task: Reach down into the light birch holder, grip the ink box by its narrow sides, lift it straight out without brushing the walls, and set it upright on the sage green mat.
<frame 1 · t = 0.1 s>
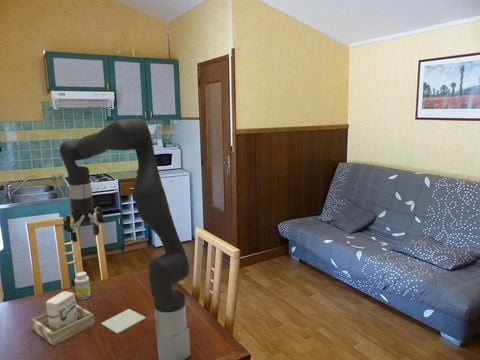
hand: (85, 238, 140), 29 cm above the table, tool pointing down, fingers open, 8 cm apart
birch holder: (64, 327, 135), on the table
ink box: (64, 327, 135), resting in birch holder
supplement bottle: (83, 297, 156), on the table
sage mat: (123, 321, 138), on the table
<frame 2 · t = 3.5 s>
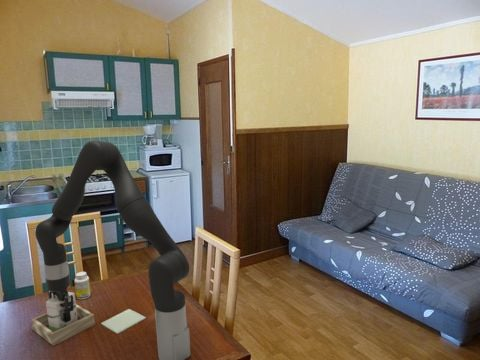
hand: (62, 318, 134), 4 cm above the table, tool pointing down, fingers closed on ink box, 6 cm apart
ink box: (64, 327, 135), resting in birch holder, touching gripper
everything else where it was.
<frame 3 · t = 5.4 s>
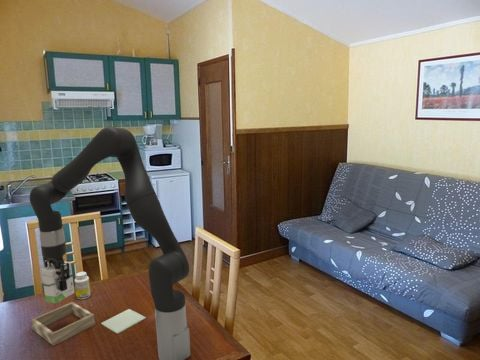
hand: (59, 287, 132), 15 cm above the table, tool pointing down, fingers closed on ink box, 6 cm apart
ink box: (60, 297, 132), point 12 cm above the table, touching gripper
everything else where it was.
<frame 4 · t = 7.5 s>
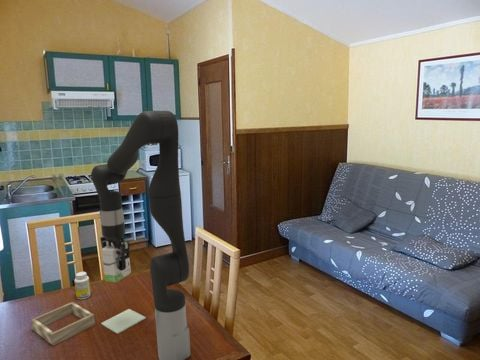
hand: (117, 267, 133), 21 cm above the table, tool pointing down, fingers closed on ink box, 6 cm apart
ink box: (118, 277, 134), point 17 cm above the table, touching gripper
everything else where it was.
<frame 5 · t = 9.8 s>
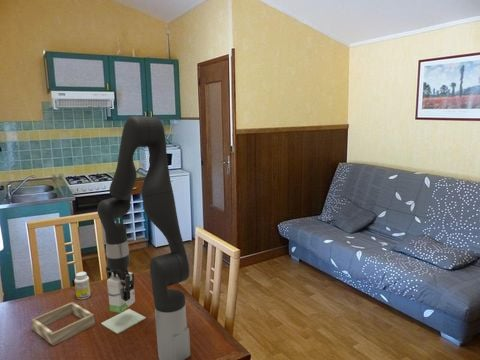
hand: (121, 297, 136), 9 cm above the table, tool pointing down, fingers closed on ink box, 6 cm apart
ink box: (122, 306, 137), point 6 cm above the table, touching gripper
everything else where it was.
when the fingers open (5 cm above the table, at t = 11.6 s): ink box drops 1 cm, resting on sage mat.
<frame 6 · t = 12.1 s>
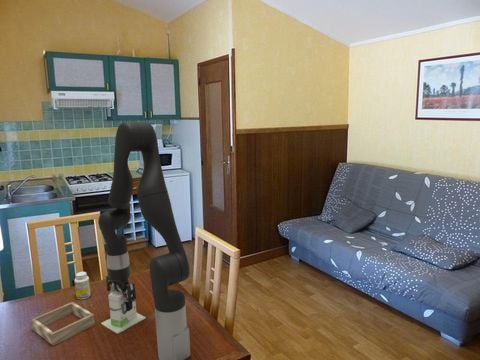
hand: (122, 306, 137), 6 cm above the table, tool pointing down, fingers open, 8 cm apart
ink box: (124, 320, 138), resting on sage mat
everything else where it was.
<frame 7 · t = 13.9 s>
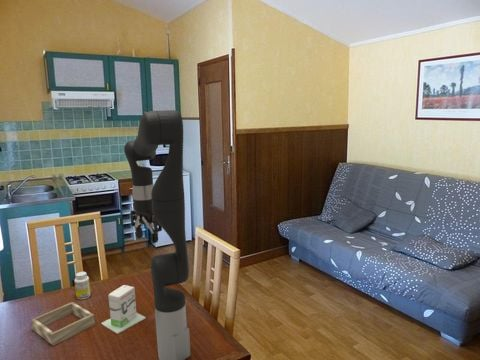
hand: (147, 240, 137), 29 cm above the table, tool pointing down, fingers open, 8 cm apart
nothing on the table moved.
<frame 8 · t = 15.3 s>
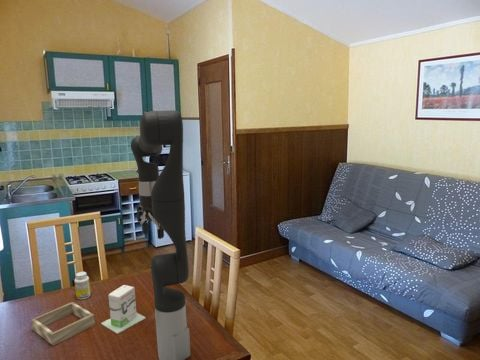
hand: (153, 235, 138), 30 cm above the table, tool pointing down, fingers open, 8 cm apart
nothing on the table moved.
at the end: ink box inside the target area (0.3 cm from its centre), resting on sage mat; ink box tilted 0°; the gripper is holding nothing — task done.
